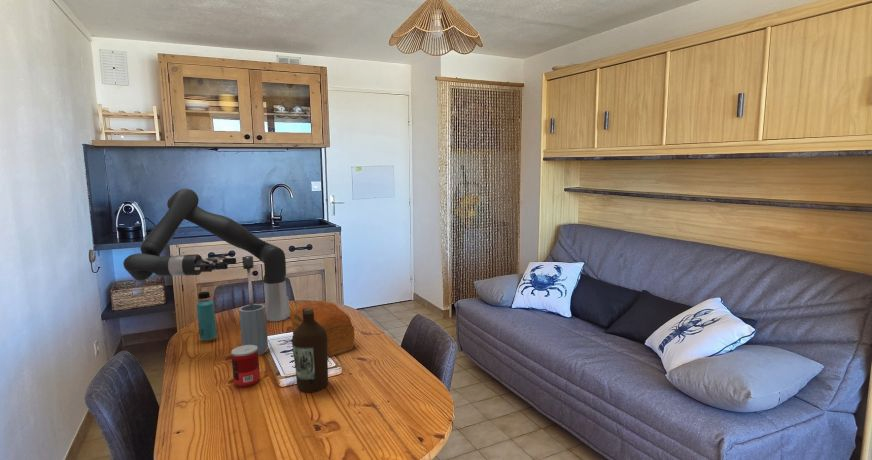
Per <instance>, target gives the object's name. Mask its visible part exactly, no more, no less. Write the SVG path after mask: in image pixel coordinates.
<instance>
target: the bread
mask: <svg viewBox="0 0 872 460" xmlns="http://www.w3.org/2000/svg"><path fill="white" fill-rule="evenodd" d="M307 307H311V308H313V312H314V320H315V321H316V322H317V323H319V324H320V325H321V326H322V327H323V328H324V329H325V331H326V333H327V338H328V356H330V357H333V356H336V355H340V354H343V353H347V352H349V351H351V350H353V347H354V342H355V327H354V325H353V324H352V321H351V318H350V316H349V314H347V313H346V312H345V311H344V310H342V309H341V308H339V307H338V306H337V304H334V303H331V302H326V301H316V302H313V303H305V304H303V305H301V306H300V307H299V308H297V310H295V312H294V317H293V319H292V320H291V322H292V323H291V324H292V326H291V329H292V335H293V334H294V332H295V330H296V329H297V328H298V326H299V325H300V324H301V323H302V322H303V309H304V308H307Z"/></svg>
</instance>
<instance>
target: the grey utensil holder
mask: <svg viewBox="0 0 872 460" xmlns="http://www.w3.org/2000/svg"><path fill="white" fill-rule="evenodd" d="M253 306H254V310H251V311H250V304H247V305H243V306H242V305H241V307H239V308H238V316H239V327H240V328H239V329H240V338H241V341H240V342H241V346H244V345H255V346H257V348H258V357H259V356H261V355H265V354H266V353H265V351H266V349H267V347H268V348H269V341H268V340H269V339H268V327H267V326H268V325H267V317H266V305H265V304H261V303H253ZM264 353H265V354H264Z"/></svg>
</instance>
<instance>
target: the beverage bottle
mask: <svg viewBox="0 0 872 460" xmlns="http://www.w3.org/2000/svg"><path fill="white" fill-rule="evenodd" d="M197 294H198V297H197V299H199V301H198V302H196V303H195V306H196V314H197V315H196V316H197V322H198V336H199V339H200V340H201V341H209V340H213V339H215V338H217V336H218V330H217V323H216V316H215V315H216V314H215V307H214V306H215V305H214V301H213V300H212V299H210V298H211V294H210V292H209V291H202V292H199V293H197Z"/></svg>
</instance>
